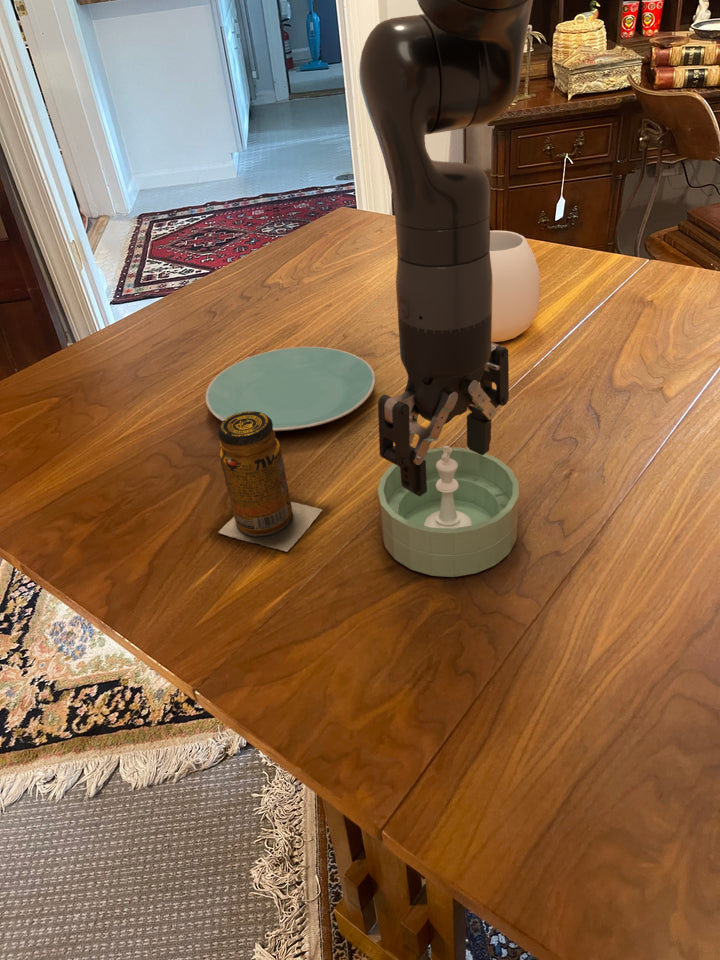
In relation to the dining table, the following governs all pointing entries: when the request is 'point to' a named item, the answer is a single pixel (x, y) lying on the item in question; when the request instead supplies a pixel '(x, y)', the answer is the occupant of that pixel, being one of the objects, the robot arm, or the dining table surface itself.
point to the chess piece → (447, 496)
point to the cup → (512, 285)
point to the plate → (293, 386)
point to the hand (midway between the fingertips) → (448, 470)
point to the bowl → (480, 496)
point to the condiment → (259, 484)
